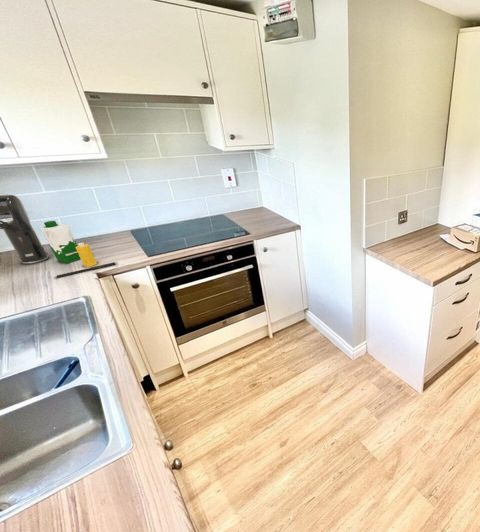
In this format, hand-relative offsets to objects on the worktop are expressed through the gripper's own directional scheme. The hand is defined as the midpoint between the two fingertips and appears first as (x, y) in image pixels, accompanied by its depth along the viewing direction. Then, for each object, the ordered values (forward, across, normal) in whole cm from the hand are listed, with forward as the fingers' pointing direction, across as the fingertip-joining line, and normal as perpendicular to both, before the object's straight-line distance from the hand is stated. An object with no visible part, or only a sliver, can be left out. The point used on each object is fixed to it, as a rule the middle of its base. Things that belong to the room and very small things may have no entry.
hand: (10, 228), depth 134 cm
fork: (+27, -9, +8) cm, 30 cm away
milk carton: (+31, +11, +5) cm, 34 cm away
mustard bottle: (+31, -4, +5) cm, 31 cm away
